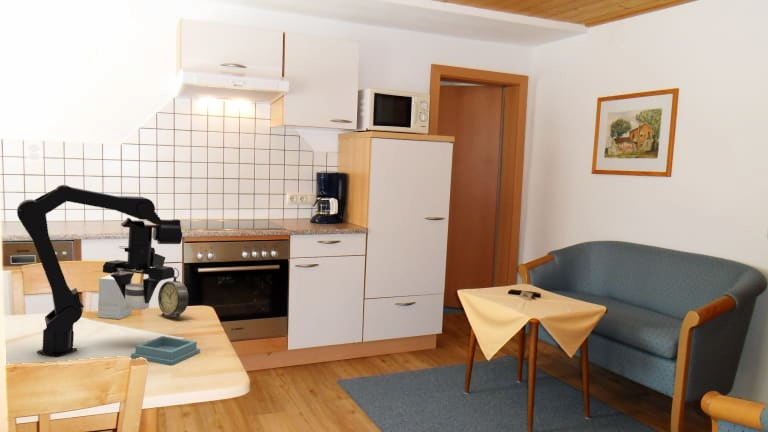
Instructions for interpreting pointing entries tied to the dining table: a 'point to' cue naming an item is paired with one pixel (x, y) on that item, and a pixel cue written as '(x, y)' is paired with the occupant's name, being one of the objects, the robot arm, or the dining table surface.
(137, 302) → the lens
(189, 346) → the square tray
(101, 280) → the supplement box
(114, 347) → the dining table surface
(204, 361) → the dining table surface
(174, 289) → the alarm clock
